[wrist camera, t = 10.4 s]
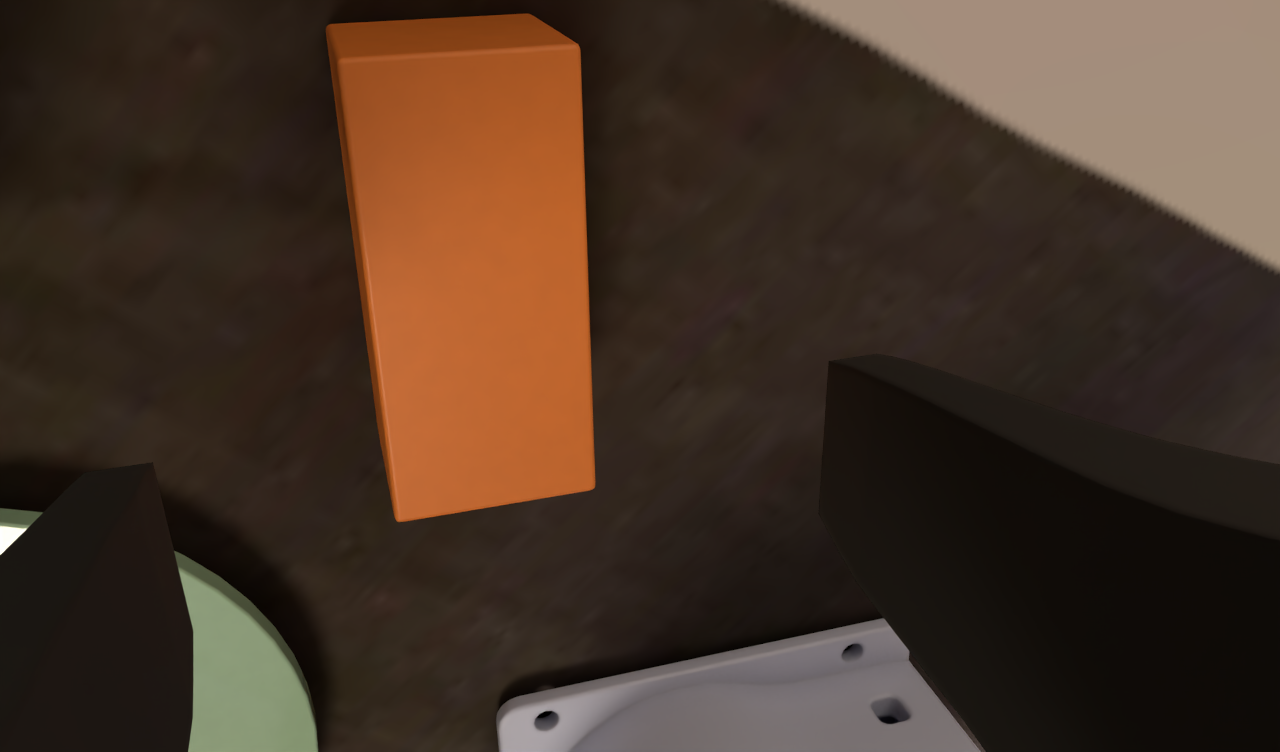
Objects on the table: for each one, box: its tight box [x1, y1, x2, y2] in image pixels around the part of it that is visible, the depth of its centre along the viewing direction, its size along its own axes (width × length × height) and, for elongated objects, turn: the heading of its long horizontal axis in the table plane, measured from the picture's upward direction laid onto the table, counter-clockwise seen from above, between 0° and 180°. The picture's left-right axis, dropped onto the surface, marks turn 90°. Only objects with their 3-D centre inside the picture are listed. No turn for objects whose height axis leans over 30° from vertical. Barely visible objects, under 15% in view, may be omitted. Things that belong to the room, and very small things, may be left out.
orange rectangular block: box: [326, 14, 595, 522], centre depth 17 cm, size 7×3×3 cm, turn 0°
